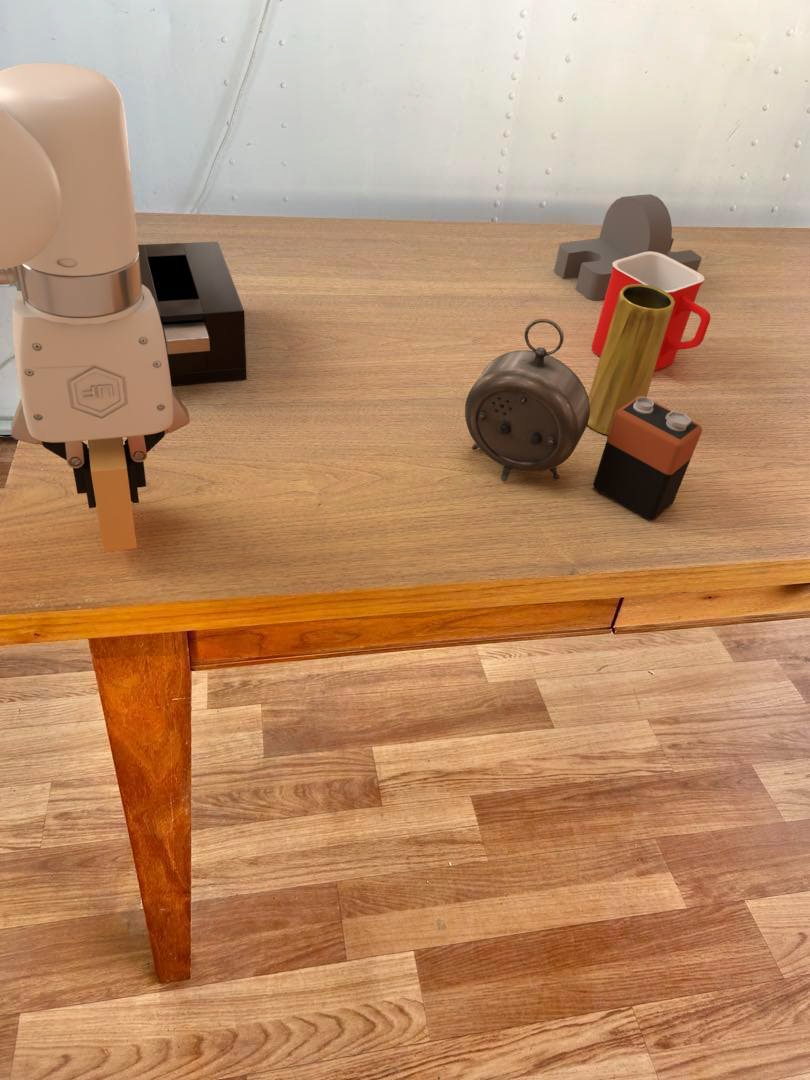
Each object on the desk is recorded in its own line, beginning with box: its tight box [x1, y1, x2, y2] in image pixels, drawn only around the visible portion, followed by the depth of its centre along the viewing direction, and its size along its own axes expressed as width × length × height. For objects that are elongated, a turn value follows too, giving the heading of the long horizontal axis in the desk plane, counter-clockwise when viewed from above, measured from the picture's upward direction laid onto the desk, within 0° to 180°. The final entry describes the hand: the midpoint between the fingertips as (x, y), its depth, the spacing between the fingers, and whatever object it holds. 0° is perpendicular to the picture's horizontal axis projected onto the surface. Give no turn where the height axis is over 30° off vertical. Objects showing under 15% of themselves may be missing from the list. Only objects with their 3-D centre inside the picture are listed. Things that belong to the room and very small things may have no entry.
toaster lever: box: [163, 322, 210, 354], centre depth 83 cm, size 4×3×2 cm
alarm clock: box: [464, 318, 590, 483], centre depth 78 cm, size 11×5×16 cm, turn 65°
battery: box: [592, 396, 703, 521], centre depth 79 cm, size 4×7×10 cm, turn 47°
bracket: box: [553, 193, 703, 301], centre depth 114 cm, size 10×18×11 cm, turn 116°
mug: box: [591, 251, 711, 372], centre depth 97 cm, size 12×8×11 cm
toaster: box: [138, 240, 247, 387], centre depth 91 cm, size 12×16×8 cm
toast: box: [87, 437, 138, 553], centre depth 68 cm, size 2×8×8 cm, turn 18°
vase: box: [587, 284, 675, 436], centre depth 87 cm, size 6×6×14 cm
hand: (112, 493), depth 69 cm, fingers closed on toast, 2 cm apart
